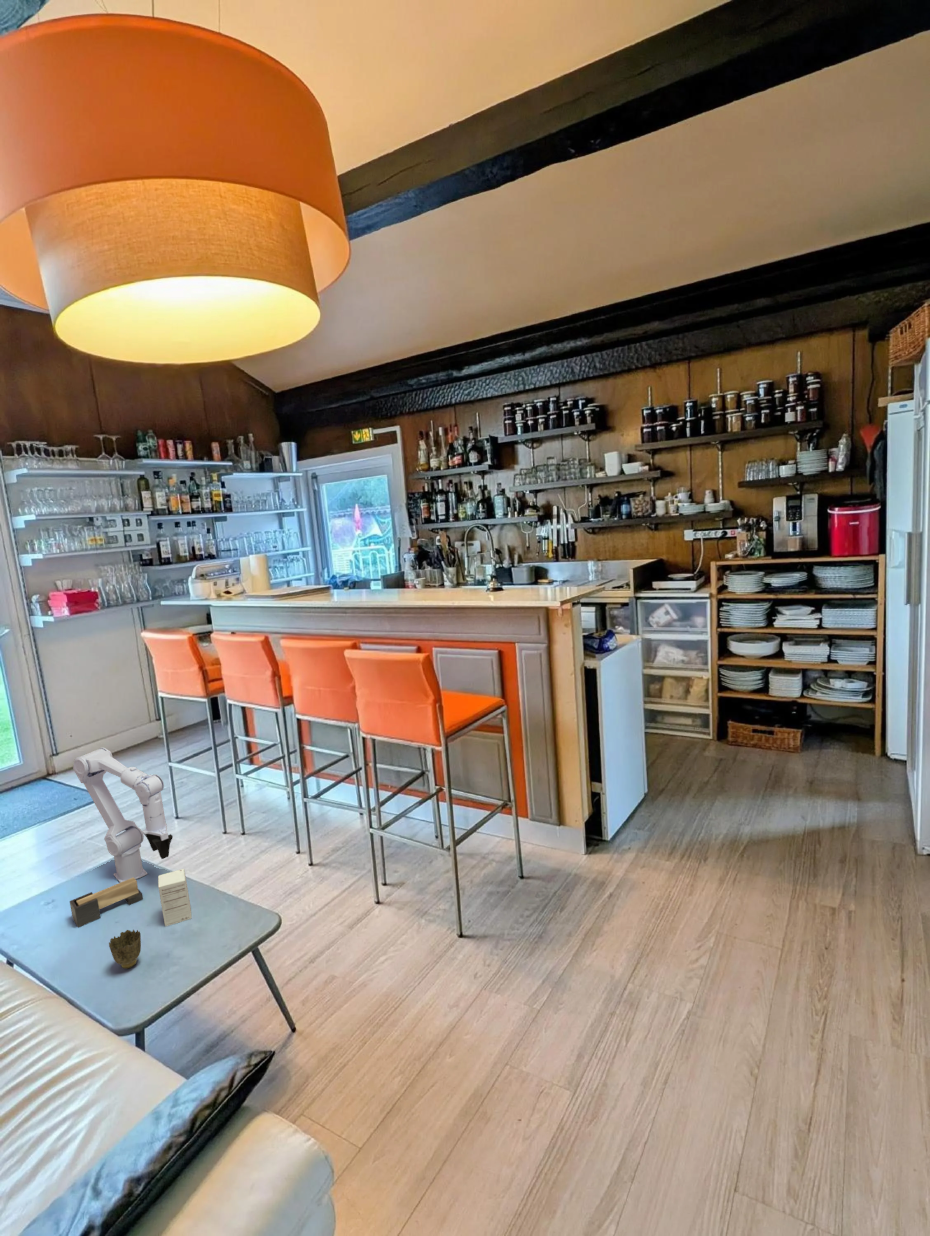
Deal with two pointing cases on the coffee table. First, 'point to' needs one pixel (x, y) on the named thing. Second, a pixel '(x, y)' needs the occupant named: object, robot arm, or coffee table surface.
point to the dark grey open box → (85, 911)
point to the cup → (126, 948)
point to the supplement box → (174, 897)
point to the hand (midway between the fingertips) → (160, 853)
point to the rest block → (134, 898)
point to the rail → (112, 893)
